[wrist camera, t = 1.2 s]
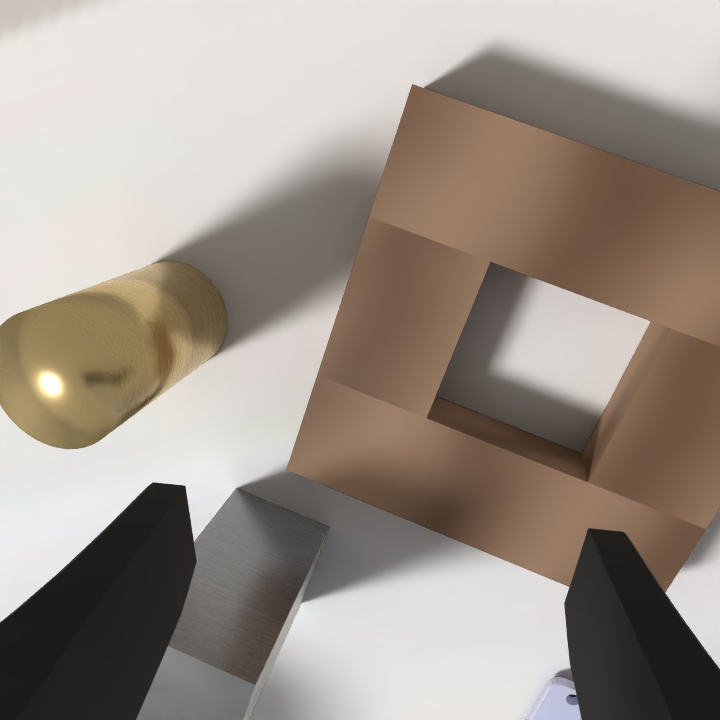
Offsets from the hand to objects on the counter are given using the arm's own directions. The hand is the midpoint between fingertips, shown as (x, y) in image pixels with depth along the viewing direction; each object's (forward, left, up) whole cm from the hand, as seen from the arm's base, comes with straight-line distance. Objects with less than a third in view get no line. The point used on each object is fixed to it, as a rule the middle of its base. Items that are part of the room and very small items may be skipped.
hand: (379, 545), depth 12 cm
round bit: (+10, +2, -11) cm, 15 cm away
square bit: (+4, +10, -11) cm, 16 cm away
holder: (-3, -1, -11) cm, 12 cm away
